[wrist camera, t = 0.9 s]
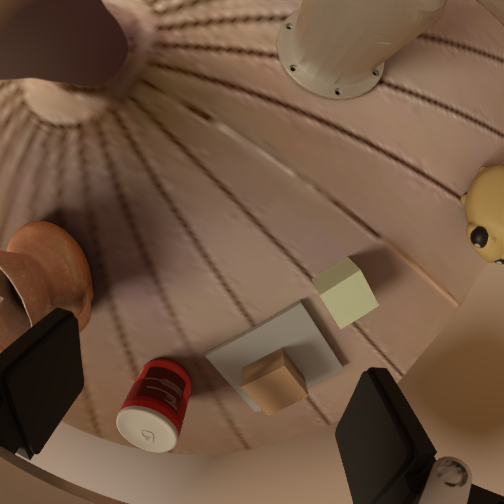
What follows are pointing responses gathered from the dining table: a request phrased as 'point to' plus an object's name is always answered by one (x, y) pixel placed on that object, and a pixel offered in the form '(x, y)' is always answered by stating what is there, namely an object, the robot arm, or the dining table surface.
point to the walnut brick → (274, 382)
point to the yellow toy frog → (486, 213)
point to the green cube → (345, 292)
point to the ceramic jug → (42, 279)
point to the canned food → (156, 406)
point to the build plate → (271, 339)
